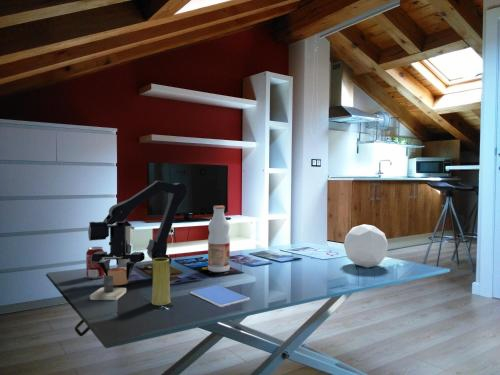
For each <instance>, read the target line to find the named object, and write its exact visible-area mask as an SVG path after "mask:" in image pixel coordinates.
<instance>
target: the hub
mask: <svg viewBox="0 0 500 375" xmlns="http://www.w3.org/2000/svg"><path fill="white" fill-rule="evenodd" d="M108 276H113V286H122V285H127V284H128V283H129V282H130V281H129V280H130V278H129V279H128V280H127V271H126V266H125V267H123V266H118V267H112V268H111V267H110V269H109V270H108Z"/></svg>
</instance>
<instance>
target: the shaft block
mask: <svg viewBox="0 0 500 375" xmlns="http://www.w3.org/2000/svg"><path fill="white" fill-rule="evenodd" d="M126 293H127V287H114V285H113V276H106V275H104V276H103V287H100V288H98V289H97V290H95V291H94V292H92V293H91V294H90V295H89V300H91V301H92V300H93V301H94V300H95V301H99V300H100V301H101V300H102V301H118V300H119V299H120V298H121V297H123V296H124V294H126Z"/></svg>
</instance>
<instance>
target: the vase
mask: <svg viewBox="0 0 500 375" xmlns="http://www.w3.org/2000/svg"><path fill="white" fill-rule="evenodd" d="M152 267H153V280H152V290H151V291H152V294H151V295H152V296H151V304H152V305H154V306H158V307H159V306H160V305H161V306H166V305H169V304H171V302H172V301H171V285H170V284H171V283H170V282H171V281H170V280H171V277H169V259H168V258H155V259H153V261H152Z"/></svg>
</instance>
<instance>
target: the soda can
mask: <svg viewBox="0 0 500 375" xmlns="http://www.w3.org/2000/svg"><path fill="white" fill-rule="evenodd" d="M96 252H105V250H104V249H103V246H90V247H88V248H87V251H86V254H85V256H86V257H85V258H86V261H85V262H86V265H85V266H86V267H85V268H86V269H85V270H86V278H88V279H91V280H97V279H101V278H104V277H105V273H104V271H103V269H102V267H101V266H100V264H97V262H92V261H91V256H92V254H94V253H96Z"/></svg>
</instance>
